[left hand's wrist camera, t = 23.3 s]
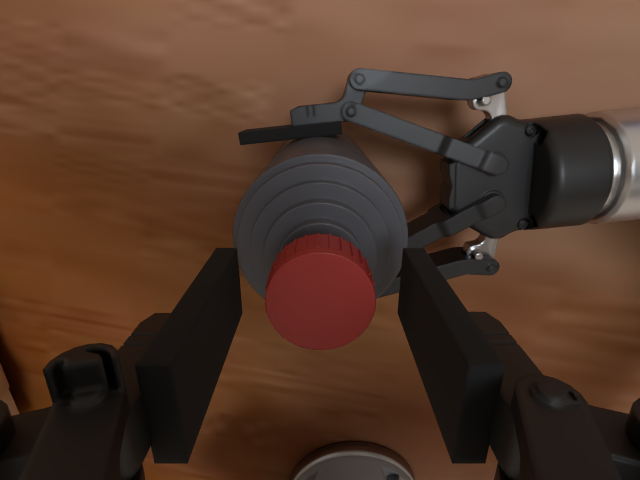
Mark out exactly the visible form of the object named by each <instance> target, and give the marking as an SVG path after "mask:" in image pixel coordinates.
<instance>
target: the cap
mask: <svg viewBox="0 0 640 480" xmlns="http://www.w3.org/2000/svg"><path fill="white" fill-rule="evenodd" d="M374 286H375V283H374V280H373V276H372V273H371V269H370V268H369V266H368V262H367V259H366V258H364V257H363V255H362V254H361V250H360V249H359V250H358V249H357V248H356V247H355V246H353V244H352V242H350V243H349V242H348V241H346V240H344V239H342V237H337V236H333V235H331V234H329V235H328V234H319V233H317V234H313V235H305V236H304V237H301V238H299V239H294V241H293V242H292V243H290V244H289V245H285V248H284V249H283V250H282V251H281V252H280V253H278V254H277V258H276V260H275V262H273V263H272V267H271V270H270V273H269V277H268V281H267V284H266V288H265V290H266V295H265V307H266V312H267V315H268V318H269V320H270V322H271V324H272V325H273V327H274V328H275V329H276V331H277V332H278V333H279V334H280V335H281V336H282V337H284V338H285V339H286V340H288V341H289V342H291V343H293V344H295V345H298V346H300V347H304V348H307V349H313V350H328V349H334V348H337V347H341V346H343V345H346V344H348V343H350V342H351V341H353V340H355V339H356V338H357V337H359V336H360V335H361V334H362V333H363V332H364V331H365V329H366V328H367V327H368V325H369V324H370V322H371V320H372V318H373V315H374V312H375V307H376V292H375V289H374Z"/></svg>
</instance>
